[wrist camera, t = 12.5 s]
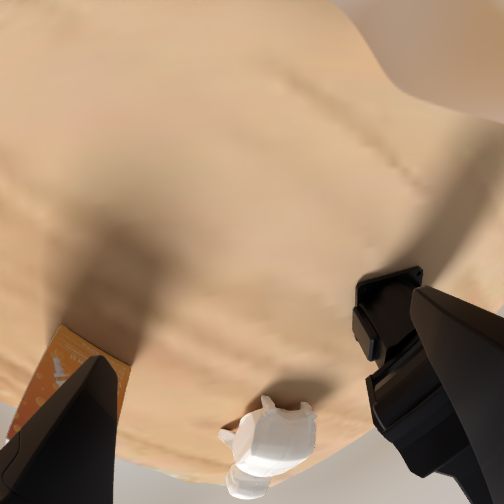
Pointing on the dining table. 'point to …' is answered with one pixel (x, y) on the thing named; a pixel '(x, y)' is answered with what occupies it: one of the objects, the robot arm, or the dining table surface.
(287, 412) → the white animal figurine
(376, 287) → the robot arm
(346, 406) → the dining table surface
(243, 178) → the dining table surface
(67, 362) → the small box
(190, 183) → the dining table surface
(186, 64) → the dining table surface
